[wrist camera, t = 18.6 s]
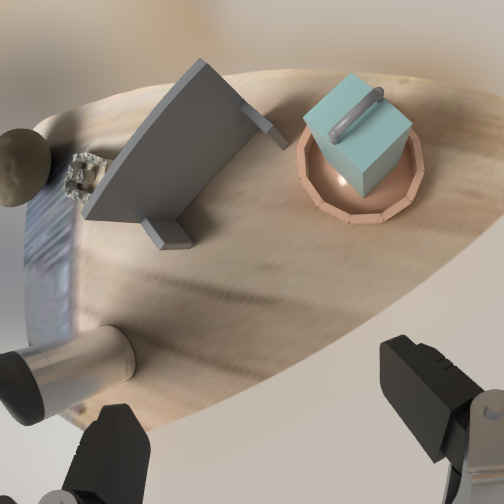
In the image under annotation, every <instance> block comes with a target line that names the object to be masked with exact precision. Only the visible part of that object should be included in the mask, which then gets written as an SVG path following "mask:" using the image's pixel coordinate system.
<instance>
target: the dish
mask: <svg viewBox="0 0 504 504" xmlns="http://www.w3.org/2000/svg"><path fill="white" fill-rule="evenodd" d="M296 153H297V165H298V178H299V179H300V180H299V181H300V182H301V184H302V185H303V187H304V188H305V189H306V191H307V192H308V194H309V195H310V197H311V198H312V200H313V201H314V203H315V204H316V206H317V207H318V208H319V209H321V210H322V211H324V212H326V213H328V214H330V215H332V216H334V217H336V218H338V219H340V220H342V221H344V222H345V223H347V224H351V225H360V224H381V223H384V222H385V221H387V220H388V219H390V218H391V217H393V216H394V215H396V214H397V213H399V212H400V211H401V210H403V209H404V208H406V207H407V206H409V205H410V204H411V203H412V202H413V199H414V197H415V195H416V192H417V190H418V188H419V185H420V183H421V180H422V178H423V176H424V173H425V172H424V171H425V167H424V161H423V154H422V148H421V142H420V139H419V137H418V135H417V134H416V133H415V131H414V130H413V129H412V128H411V130H410V133H409V135H408V138H407V141H406V144H405V146H404V149H403V152H402V154H401V157H400V159H399V162H398V165H397V167H396V168H395V169H394V170H393V171H392V172H391V173H390V174H389V175H388V176H386V177H385V178H384V179H383V180H382V181H381V182H380V183H379V184H378V185H377V186H376V187H375V188H374V189H373V190H372V191H371V192H370V193H369V194H368V195H367V196H366V197H365V198H364V199H363V198H362V197H361V196H360V195H359V194H358V192H357V191H356V190H355V189H354V188H353V187H352V186H351V185H350V184H349V183H348V182H347V181H346V180H345V179H344V178H343V177H342V176H341V175H340V174H339V173H338V172H337V171H336V170H335V169H334V168H333V167H332V166H331V165H330V164H329V163H328V162H327V161H326V160H325V158H324V156H323V154H322V152H321V150H320V148H319V146H318V144H317V142H316V141H315V139H314V137H313V135H312V133H311V131H310V130H309V128H308V126H307V125H306V127H305V129H304V132H303V134H302V136H301V138H300V140H299V142H298V144H297V148H296Z"/></svg>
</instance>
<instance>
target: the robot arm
mask: <svg viewBox="0 0 504 504" xmlns="http://www.w3.org/2000/svg"><path fill="white" fill-rule="evenodd" d="M135 366H136V363H135V356H134V352H133V349H132V346H131V345H130V343H129V341H128V339H127V338H126V336H125V335H124V334H123V333H122V332H121V331H120V330H118V329H117V328H115V327H113V326H109V325H106V326H102V327H99V328H95V329H92V330H88V331H84V332H81V333H77V334H74V335H70V336H66V337H63V338H59V339H56V340H52V341H48V342H45V343H41V344H37V345H34V346H30V347H27V348H23V349H19V350H15V351H11V352H7V353H4V354H0V401H1V402H2V403H3V405H4V406H5V407H6V409H7V410H8V412H9V413H10V414H11V415H12V417H13V418H14V419H15V420H16V421H18V422H19V423H20V424H22V425H24V426H31V425H34V424H36V423H38V422H41V421H42V420H45V419H47V418H49V417H51V416H54V415H56V414H58V413H60V412H62V411H64V410H66V409H69V408H71V407H73V406H75V405H77V404H79V403H82V402H84V401H86V400H88V399H90V398H92V397H94V396H96V395H98V394H100V393H103V392H105V391H107V390H109V389H111V388H113V387H115V386H117V385H119V384H121V383H123V382H125V381H127V380H129V379H130V378H131V377H132V376H133V374H134V371H135ZM380 384H381V389H382V391H383V394H384V396H385V397H386V398H387V400H388V401H389V403H390V404H391V405H392V407H393V408H394V409H395V411H396V412H397V413H398V415H399V416H400V417H401V419H402V420H403V422H404V423H405V424H406V426H407V427H408V428H409V430H410V431H411V432H412V434H413V435H414V436H415V437H416V439H417V441H418V442H419V443H420V445H421V446H422V447H423V449H424V450H425V452H426V453H427V454H428V456H429V457H430V458H431V460H432V461H433V463H434V464H435V463H436V462H438V461H440V460H442V459H443V458H445V457H447V459H448V460H449V461H450V465H449V468H448V475H447V481H446V486H445V491H444V497H443V501H442V504H504V391H503V390H497V389H493V390H488V391H484V390H483V389H482V388H481V387H480V386H478V385H477V384H476V383H475V382H473V380H472V379H470V378H469V377H468V376H467V375H466V374H465V373H463V372H462V371H461V370H460V369H459V368H458V367H457V366H454V365H453V363H452V362H451V361H450V360H448V359H445V356H443V355H442V354H441V353H440V352H439V351H438V350H437V349H435V348H433V347H430V346H428V345H425V344H422V343H420V344H418V345H416V344H415V343H413V342H412V341H411V340H410V339H409V338H408V337H407V336H405V335H400V336H398V337H395V338H392V339H390V340H387V341H384V342H382V343H381V344H380ZM150 452H151V448H150V442H149V439H148V436H147V434H146V433H145V431H144V430H143V428H142V426H141V425H140V423H139V421H138V420H137V418H136V417H135V415H134V413H133V411H132V410H131V408H130V407H129V405H127V404H125V403H124V404H113V405H105V406H103V407H102V409H101V412H100V414H99V416H98V419H97V421H93V422H92V423H91V425H90V426H89V427H88V428H87V429H86V430H85V431H84V433H83V436H82V438H81V441H80V445H79V446H78V448H77V450H76V455H74V458H73V460H72V463H71V465H70V468H69V471H68V473H67V476H66V478H65V481H64V484H63V486H62V489H61V490H55V491H52V492H49V493H47V494H46V495H44V497H42V499H41V500H40V502H39V503H38V504H142V502H143V496H144V489H145V483H146V476H147V470H148V464H149V458H150ZM0 504H17V503H16V502H15V501H14V500H13V499H12V498H10V497H9V496H5V495H4V496H3V495H1V496H0Z"/></svg>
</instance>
